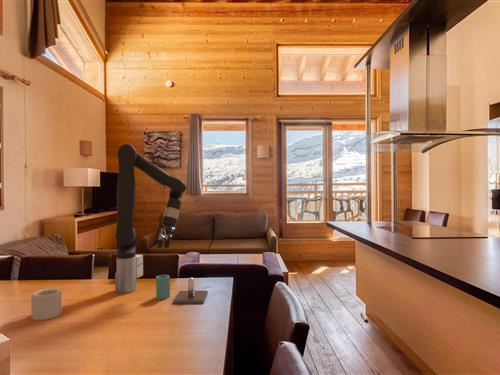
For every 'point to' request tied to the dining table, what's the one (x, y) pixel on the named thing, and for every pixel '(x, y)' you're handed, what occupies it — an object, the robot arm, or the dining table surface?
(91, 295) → the dining table surface
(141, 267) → the supplement box
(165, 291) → the sleeve
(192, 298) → the post base
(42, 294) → the mug
